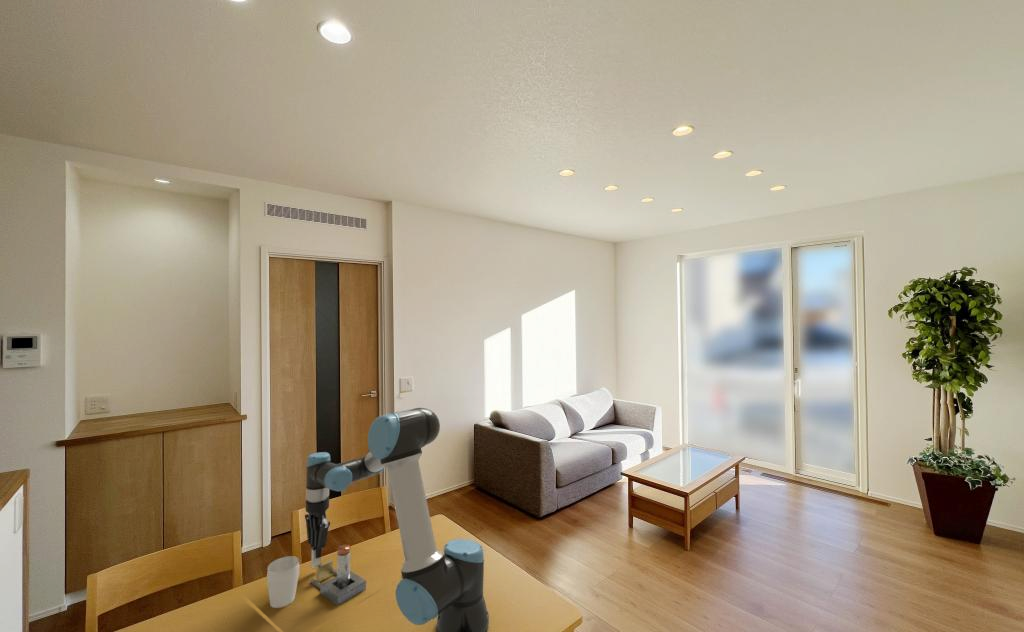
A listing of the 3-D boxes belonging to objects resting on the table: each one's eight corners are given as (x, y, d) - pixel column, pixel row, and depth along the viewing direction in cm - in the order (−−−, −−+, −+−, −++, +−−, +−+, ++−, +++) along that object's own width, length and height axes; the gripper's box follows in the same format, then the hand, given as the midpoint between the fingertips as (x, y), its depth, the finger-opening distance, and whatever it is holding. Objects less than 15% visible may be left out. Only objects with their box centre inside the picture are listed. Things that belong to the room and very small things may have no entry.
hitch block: (373, 586, 136) (373, 576, 137) (334, 609, 125) (334, 598, 125) (343, 567, 147) (343, 558, 147) (304, 587, 136) (305, 576, 136)
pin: (352, 590, 133) (353, 547, 134) (341, 596, 130) (341, 552, 131) (345, 585, 136) (346, 543, 136) (334, 592, 132) (334, 548, 133)
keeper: (332, 575, 141) (332, 560, 141) (318, 582, 137) (319, 567, 137) (330, 573, 142) (330, 559, 142) (316, 580, 138) (316, 565, 138)
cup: (284, 614, 123) (285, 574, 123) (258, 610, 125) (259, 570, 125) (305, 595, 132) (306, 557, 132) (281, 591, 133) (282, 554, 134)
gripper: (337, 499, 143) (336, 567, 142) (318, 490, 151) (316, 555, 150) (317, 506, 137) (315, 578, 136) (297, 497, 145) (296, 564, 144)
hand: (316, 565), depth 143 cm, fingers closed
